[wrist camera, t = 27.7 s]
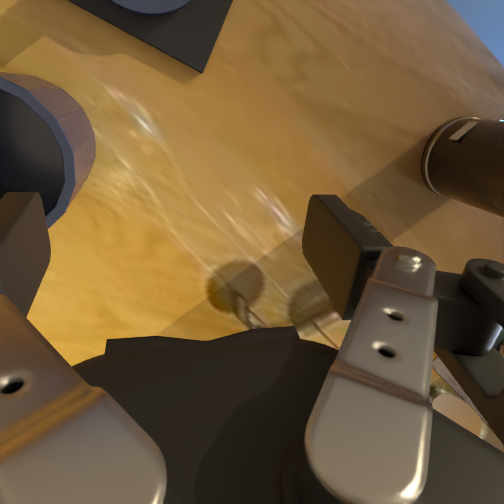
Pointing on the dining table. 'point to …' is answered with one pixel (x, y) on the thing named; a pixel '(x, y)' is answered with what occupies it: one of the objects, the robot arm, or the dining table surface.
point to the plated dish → (501, 345)
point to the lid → (151, 6)
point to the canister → (43, 142)
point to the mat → (170, 27)
